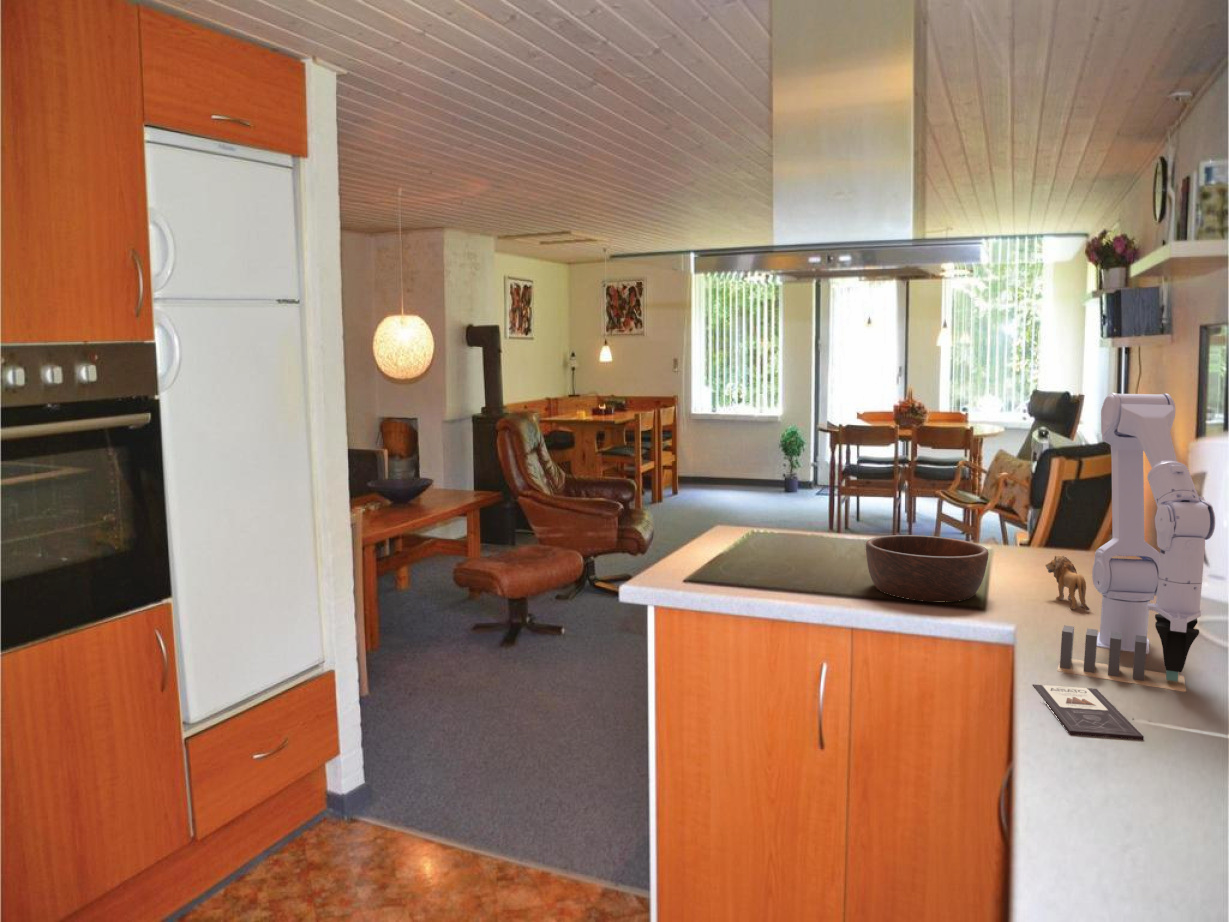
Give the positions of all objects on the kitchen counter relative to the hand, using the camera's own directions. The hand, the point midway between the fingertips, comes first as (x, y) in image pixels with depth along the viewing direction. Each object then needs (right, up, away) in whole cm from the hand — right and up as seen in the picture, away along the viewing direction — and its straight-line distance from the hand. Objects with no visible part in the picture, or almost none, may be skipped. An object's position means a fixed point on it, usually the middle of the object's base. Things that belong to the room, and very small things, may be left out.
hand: (1173, 666), depth 141 cm
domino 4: (-4, -2, +3) cm, 5 cm away
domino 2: (-10, -2, +6) cm, 12 cm away
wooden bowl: (-19, +3, +57) cm, 60 cm away
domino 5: (0, -2, 0) cm, 2 cm away
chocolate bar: (-20, -5, -11) cm, 23 cm away
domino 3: (-7, -2, +4) cm, 8 cm away
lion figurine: (+8, +2, +49) cm, 50 cm away
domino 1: (-13, -2, +8) cm, 15 cm away
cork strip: (-6, -2, +4) cm, 8 cm away
